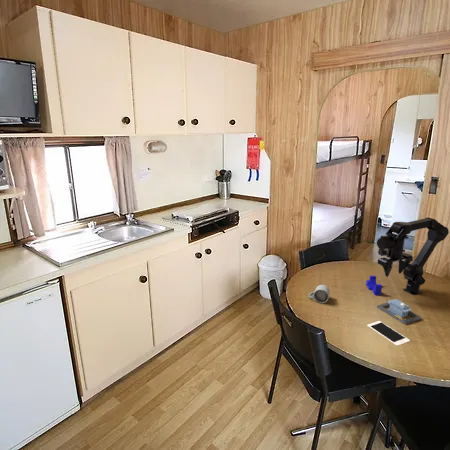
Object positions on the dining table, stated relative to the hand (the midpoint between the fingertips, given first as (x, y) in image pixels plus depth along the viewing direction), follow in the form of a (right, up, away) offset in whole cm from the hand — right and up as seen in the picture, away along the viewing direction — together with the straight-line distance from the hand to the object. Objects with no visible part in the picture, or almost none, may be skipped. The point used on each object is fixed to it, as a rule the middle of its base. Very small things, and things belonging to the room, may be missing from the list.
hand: (393, 274), depth 167 cm
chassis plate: (-4, -17, -13) cm, 21 cm away
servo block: (-4, -17, -13) cm, 21 cm away
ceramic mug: (-38, -13, +2) cm, 41 cm away
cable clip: (-6, -10, +10) cm, 15 cm away
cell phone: (-17, -22, -27) cm, 38 cm away
